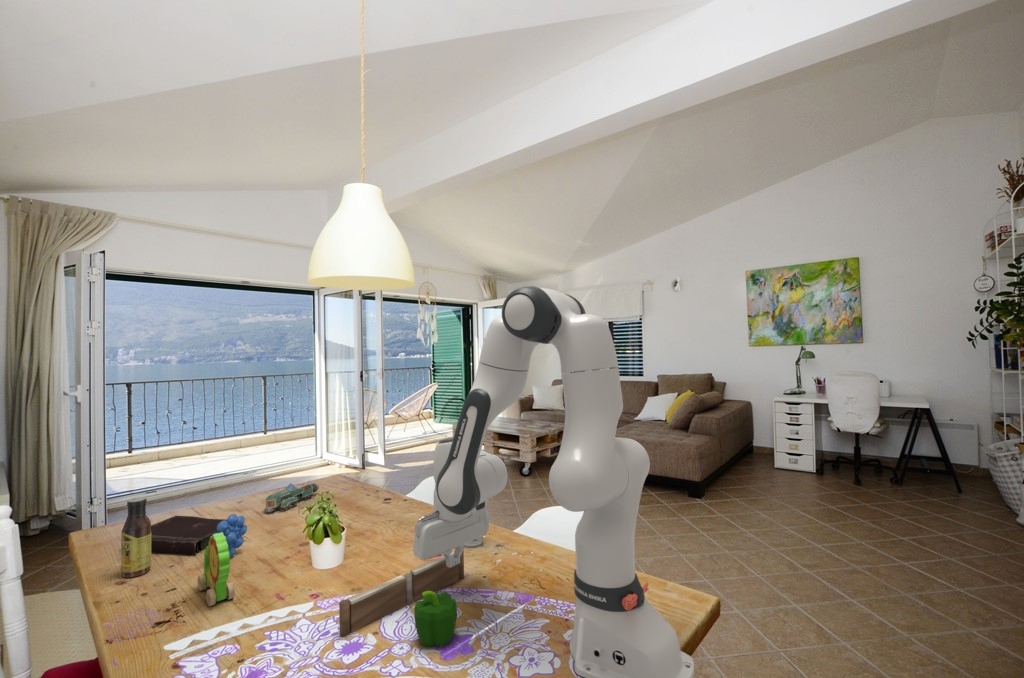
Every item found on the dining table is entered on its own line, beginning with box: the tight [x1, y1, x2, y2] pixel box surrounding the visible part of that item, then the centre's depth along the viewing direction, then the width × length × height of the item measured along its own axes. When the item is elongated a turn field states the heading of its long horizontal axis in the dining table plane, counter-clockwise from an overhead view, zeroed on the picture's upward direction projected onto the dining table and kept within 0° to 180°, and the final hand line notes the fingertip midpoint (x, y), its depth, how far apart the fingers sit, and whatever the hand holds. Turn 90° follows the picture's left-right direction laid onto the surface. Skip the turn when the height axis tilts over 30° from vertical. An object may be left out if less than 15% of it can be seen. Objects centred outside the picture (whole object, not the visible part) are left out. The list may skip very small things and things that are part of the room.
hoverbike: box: [263, 479, 320, 515], centre depth 180 cm, size 10×25×8 cm, turn 159°
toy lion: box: [197, 532, 235, 607], centre depth 112 cm, size 16×5×15 cm, turn 44°
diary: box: [151, 515, 227, 557], centre depth 146 cm, size 19×25×5 cm
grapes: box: [214, 513, 248, 559], centre depth 133 cm, size 12×7×12 cm, turn 161°
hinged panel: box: [409, 549, 465, 602], centre depth 112 cm, size 2×15×7 cm, turn 137°
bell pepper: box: [413, 591, 458, 648], centre depth 92 cm, size 8×8×10 cm
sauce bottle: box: [120, 496, 152, 579], centre depth 125 cm, size 7×6×20 cm
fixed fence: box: [338, 572, 413, 638], centre depth 100 cm, size 2×17×7 cm, turn 137°
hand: (453, 565), depth 109 cm, fingers closed
